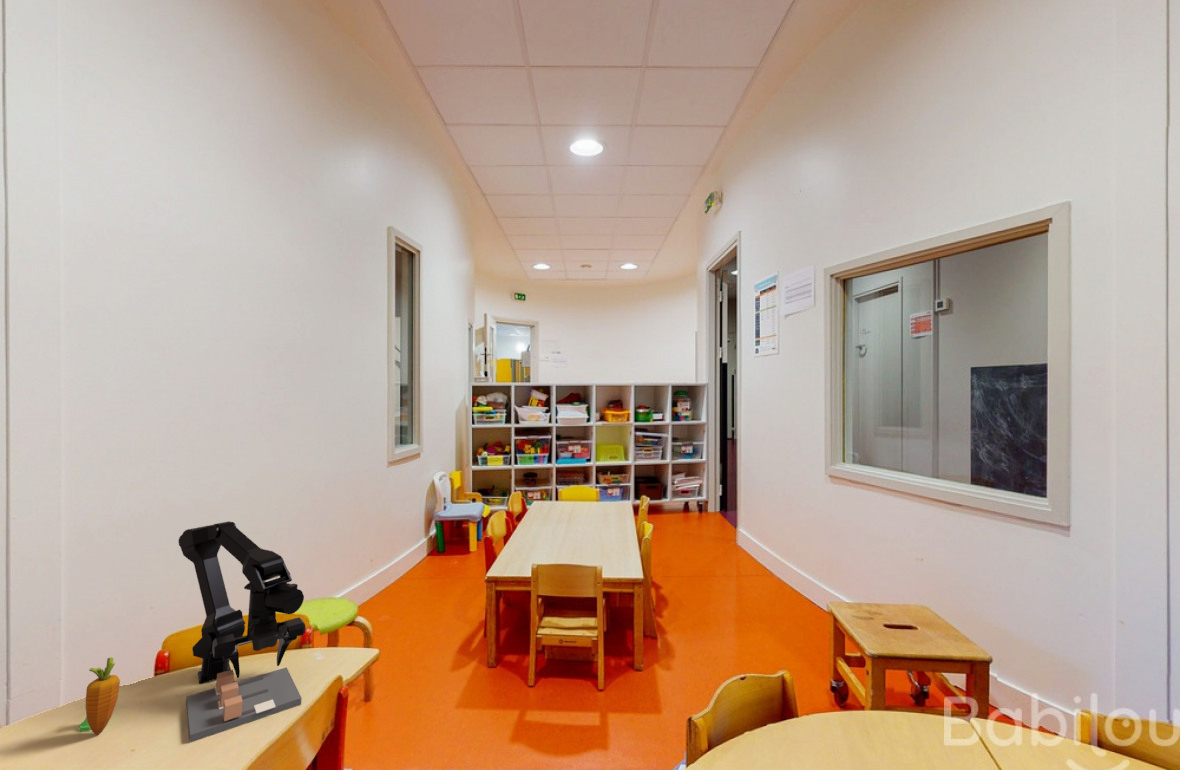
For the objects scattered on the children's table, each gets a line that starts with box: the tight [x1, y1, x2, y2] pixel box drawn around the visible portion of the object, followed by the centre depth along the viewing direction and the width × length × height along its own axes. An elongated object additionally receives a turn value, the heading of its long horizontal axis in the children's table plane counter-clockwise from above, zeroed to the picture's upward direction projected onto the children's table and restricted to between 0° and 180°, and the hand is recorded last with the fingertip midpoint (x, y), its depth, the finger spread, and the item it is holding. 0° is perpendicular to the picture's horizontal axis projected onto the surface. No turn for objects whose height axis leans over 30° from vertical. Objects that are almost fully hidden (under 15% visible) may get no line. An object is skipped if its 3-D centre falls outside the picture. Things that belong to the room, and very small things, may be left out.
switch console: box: [185, 667, 302, 743], centre depth 108 cm, size 18×20×2 cm
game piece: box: [78, 716, 92, 732], centre depth 99 cm, size 4×4×6 cm
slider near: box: [223, 695, 243, 721], centre depth 101 cm, size 3×3×3 cm
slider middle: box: [220, 681, 239, 706], centre depth 106 cm, size 3×3×3 cm
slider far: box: [215, 669, 235, 692], centre depth 111 cm, size 3×3×3 cm
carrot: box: [85, 656, 121, 736], centre depth 97 cm, size 5×5×15 cm
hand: (258, 671), depth 116 cm, fingers open, 8 cm apart
